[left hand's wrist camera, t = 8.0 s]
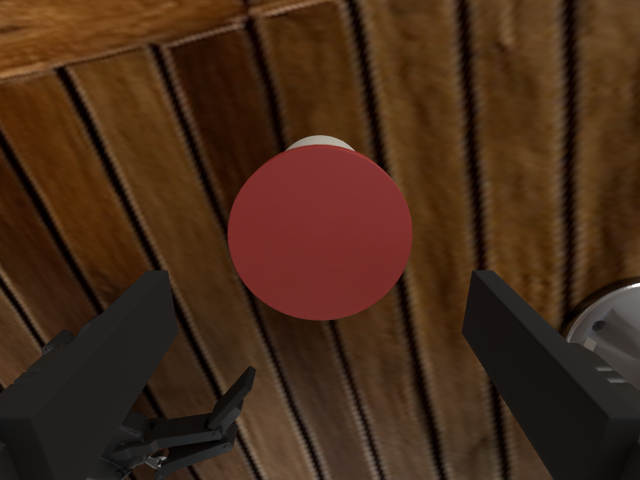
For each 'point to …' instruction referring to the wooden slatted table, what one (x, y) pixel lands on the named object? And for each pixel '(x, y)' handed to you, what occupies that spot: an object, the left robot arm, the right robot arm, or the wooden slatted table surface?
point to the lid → (319, 232)
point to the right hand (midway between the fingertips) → (190, 340)
